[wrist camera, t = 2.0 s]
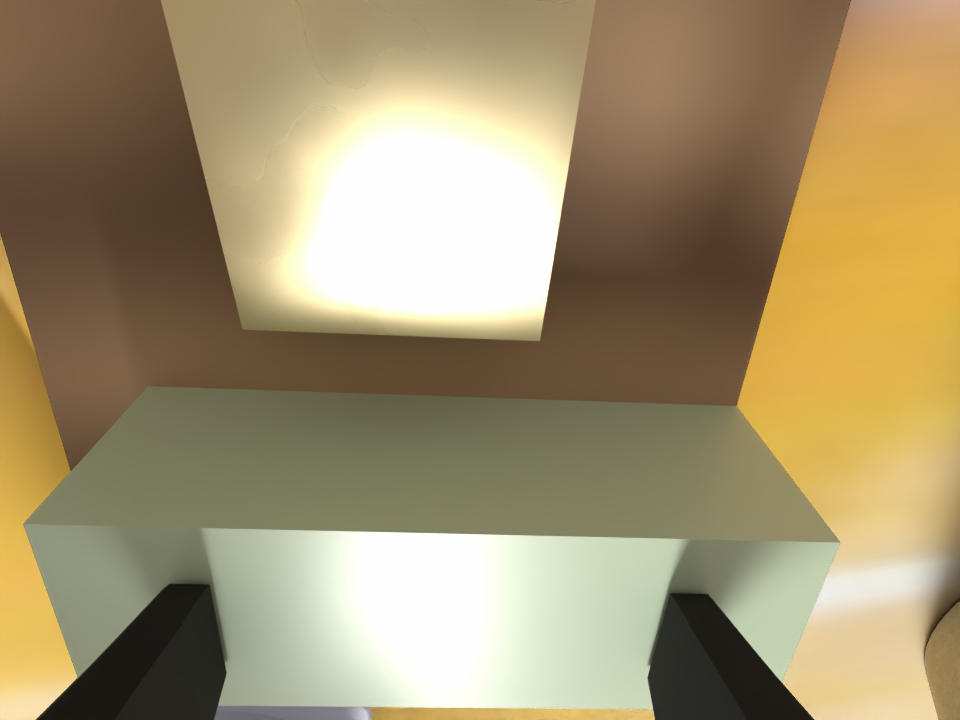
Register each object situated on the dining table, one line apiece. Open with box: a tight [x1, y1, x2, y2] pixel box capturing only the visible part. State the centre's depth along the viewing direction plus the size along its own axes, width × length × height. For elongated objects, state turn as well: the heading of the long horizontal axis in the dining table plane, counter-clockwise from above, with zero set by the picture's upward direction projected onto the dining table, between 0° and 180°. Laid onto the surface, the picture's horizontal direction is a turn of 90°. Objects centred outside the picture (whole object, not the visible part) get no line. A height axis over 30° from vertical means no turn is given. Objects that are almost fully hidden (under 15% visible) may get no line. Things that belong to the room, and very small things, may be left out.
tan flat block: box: [161, 0, 596, 341], centre depth 9 cm, size 6×5×1 cm
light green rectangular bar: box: [23, 386, 840, 709], centre depth 12 cm, size 4×12×4 cm, turn 87°
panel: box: [0, 0, 851, 471], centre depth 12 cm, size 24×14×4 cm, turn 177°
